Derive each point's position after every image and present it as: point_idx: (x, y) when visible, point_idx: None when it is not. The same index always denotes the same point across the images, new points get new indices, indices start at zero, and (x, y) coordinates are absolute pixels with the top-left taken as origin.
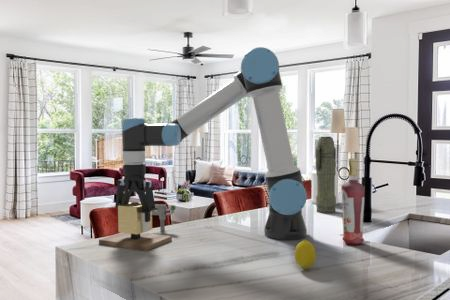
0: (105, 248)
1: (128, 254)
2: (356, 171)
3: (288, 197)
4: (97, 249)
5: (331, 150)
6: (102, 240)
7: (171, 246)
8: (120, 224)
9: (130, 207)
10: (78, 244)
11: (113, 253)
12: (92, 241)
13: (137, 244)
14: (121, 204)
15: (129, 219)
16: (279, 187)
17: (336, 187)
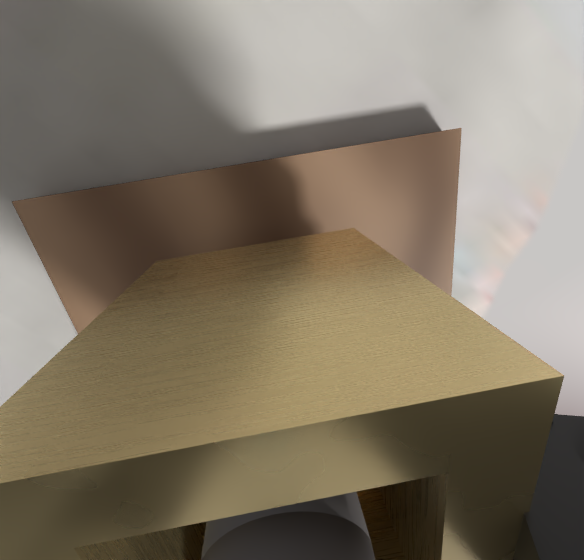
0: (320, 77)
1: (46, 59)
2: None
3: None
4: (350, 17)
5: None
6: (425, 134)
7: (30, 349)
8: (348, 249)
9: (137, 441)
10: (571, 35)
11: (158, 7)
12: (525, 153)
13: (111, 200)
14: (572, 492)
15: (216, 296)
16: None
17: None
